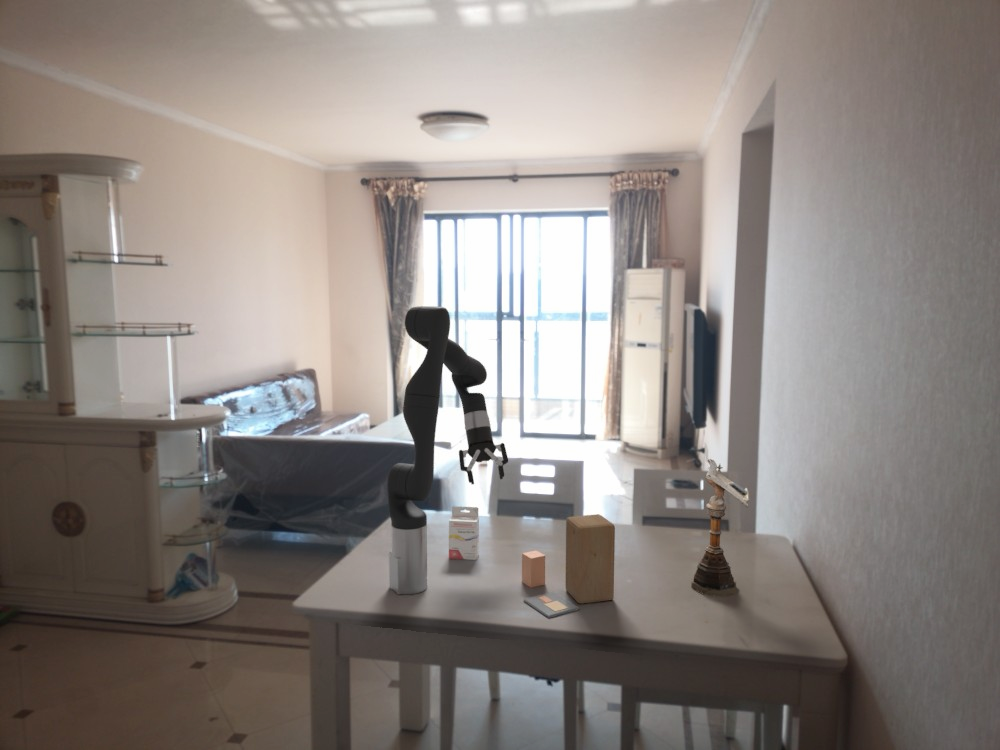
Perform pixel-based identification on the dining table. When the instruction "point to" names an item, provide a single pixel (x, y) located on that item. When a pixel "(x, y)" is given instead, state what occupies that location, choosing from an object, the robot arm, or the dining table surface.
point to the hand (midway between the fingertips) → (487, 481)
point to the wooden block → (590, 558)
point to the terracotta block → (533, 568)
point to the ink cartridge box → (464, 533)
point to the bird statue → (717, 538)
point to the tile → (551, 604)
